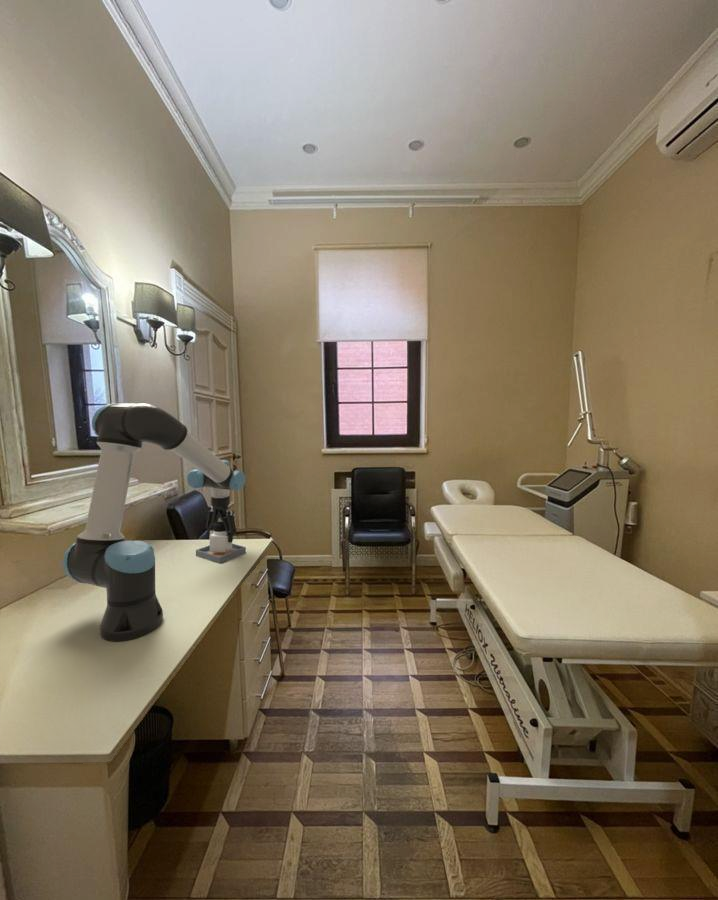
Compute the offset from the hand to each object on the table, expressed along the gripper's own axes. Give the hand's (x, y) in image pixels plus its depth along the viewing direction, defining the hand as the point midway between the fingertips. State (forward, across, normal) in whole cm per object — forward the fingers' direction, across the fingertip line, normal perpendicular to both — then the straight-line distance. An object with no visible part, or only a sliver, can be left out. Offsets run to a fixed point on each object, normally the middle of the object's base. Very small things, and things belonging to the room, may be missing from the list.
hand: (221, 546), depth 156 cm
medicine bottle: (+1, 0, 0) cm, 1 cm away
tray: (+3, 0, 0) cm, 3 cm away
